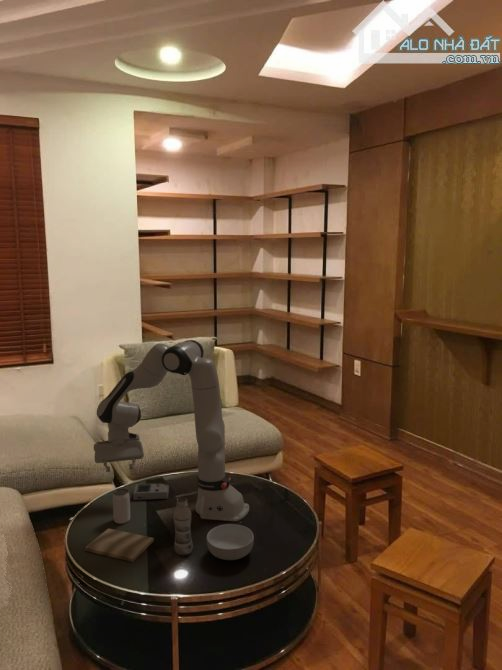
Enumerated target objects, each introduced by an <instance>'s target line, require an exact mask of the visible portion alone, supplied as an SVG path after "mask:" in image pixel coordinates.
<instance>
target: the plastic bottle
mask: <svg viewBox="0 0 502 670" xmlns="http://www.w3.org/2000/svg"><path fill="white" fill-rule="evenodd" d="M192 514H193V513H192V511H191V509H190V508H189V506H188V498H186V497H179V498H177V499H176V507H175V509H174V510H173V513H172V516H173V518H172V519H173V522H174V532H175V534H174V535H175V536H174V537H175V538H174V544H173V548H174V552H175V553H176V554H177V555H179V556H187V555H189V554H191V553H192V551H193V548H194V544H193V540H192V531H191V524H192V516H193V515H192Z"/></svg>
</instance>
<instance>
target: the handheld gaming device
mask: <svg viewBox="0 0 502 670" xmlns="http://www.w3.org/2000/svg"><path fill="white" fill-rule="evenodd" d="M169 492H170V486H169V485H168V484H166V483H140V484H137V483H136V484H135V488H134V490H133V493H132V498H133V500H134V501H135V500H139V501H140V500H160V499H161V500H162V499H164V500H166V499H169Z"/></svg>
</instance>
